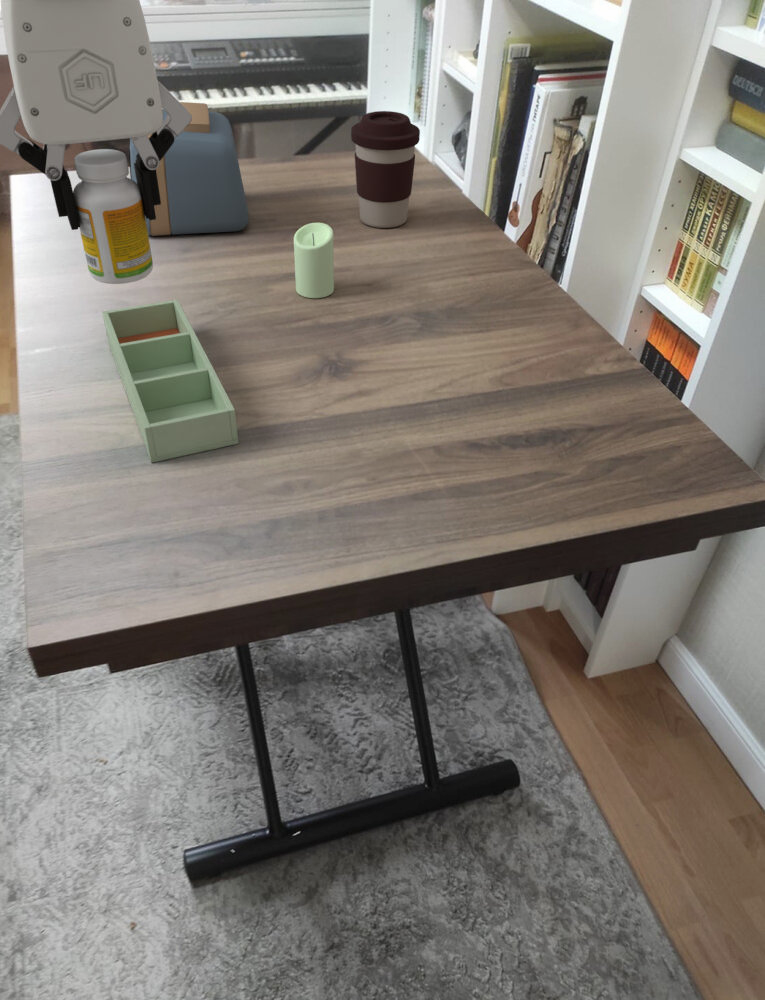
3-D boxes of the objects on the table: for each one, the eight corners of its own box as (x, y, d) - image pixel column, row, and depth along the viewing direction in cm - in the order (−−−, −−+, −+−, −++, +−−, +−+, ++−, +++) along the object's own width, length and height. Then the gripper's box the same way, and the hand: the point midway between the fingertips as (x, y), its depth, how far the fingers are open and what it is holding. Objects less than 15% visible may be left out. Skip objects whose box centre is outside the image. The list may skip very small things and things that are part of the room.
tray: (151, 463, 81) (144, 428, 78) (108, 343, 98) (101, 311, 95) (238, 443, 83) (235, 409, 81) (182, 330, 101) (177, 299, 98)
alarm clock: (140, 200, 133) (122, 92, 122) (243, 195, 135) (234, 89, 125) (137, 241, 120) (117, 125, 110) (251, 235, 123) (242, 121, 113)
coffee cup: (354, 233, 124) (354, 128, 115) (348, 209, 132) (347, 107, 122) (420, 231, 126) (425, 127, 116) (410, 207, 133) (414, 107, 123)
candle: (322, 302, 107) (320, 240, 102) (288, 293, 109) (285, 232, 104) (340, 287, 111) (340, 226, 105) (308, 278, 112) (306, 219, 107)
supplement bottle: (162, 261, 74) (144, 147, 68) (141, 288, 70) (121, 170, 64) (103, 256, 74) (80, 143, 68) (79, 283, 70) (53, 165, 64)
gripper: (-73, -26, 52) (5, 251, 64) (198, -35, 57) (224, 222, 69) (-73, -43, 58) (-1, 215, 69) (175, -51, 63) (203, 191, 74)
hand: (111, 216), depth 69 cm, fingers closed on supplement bottle, 5 cm apart
